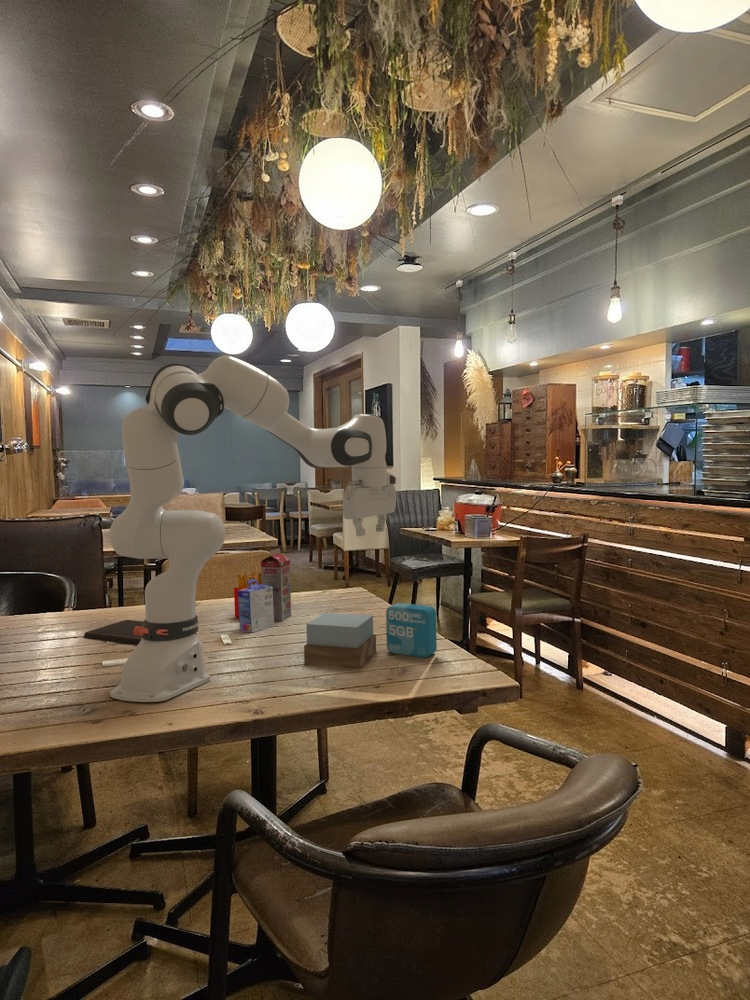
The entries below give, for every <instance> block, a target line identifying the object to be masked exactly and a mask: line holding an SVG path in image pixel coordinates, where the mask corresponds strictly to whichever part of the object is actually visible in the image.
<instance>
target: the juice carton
mask: <svg viewBox="0 0 750 1000" xmlns="http://www.w3.org/2000/svg"><path fill="white" fill-rule="evenodd" d="M290 559H291V558H289V557H288V556H286V555H285V554H283V553H281V548H280V547H279V548H274V549H271V550H269V556H268V557H266V558H264V559H262V560H261V561H260V573H261V583H262V585H268V586H272V589H273V612H274V622H284V621H285V620H287V619H289V618H290V617H292V596H291V594H292V592H291V591H292V590H291V589H292V587H291V560H290Z"/></svg>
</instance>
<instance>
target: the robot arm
mask: <svg viewBox="0 0 750 1000" xmlns="http://www.w3.org/2000/svg"><path fill="white" fill-rule="evenodd" d="M145 401H146V403H147V405H146V406H145V407H139V408H135V409H133V410H132V411H130V412H128V413H127V414H126V415H125V417H124V418H123V419H122V424H121V433H122V434H121V435H122V437H121V438H122V439H121V441H122V449H123V450H122V451H123V455H124V456H123V457H124V462H125V465H126V470H127V475H128V481H129V487H130V489H129V490H130V497H129V502H128V504H127V506H126V508H125V509H124V510H123V511H122V512H121V513H120V514H119V515H117V516H116V518H114V520H113V521H112V523H111V525H110V527H109V533H108V534H109V536H108V537H109V542H110V545H111V548H112V549H113V550H114V552H115V553H116V554H117V555H119V556H122V557H125V558H133V559H137V560H146V559H147V560H149V559H150V560H151V559H167V560H169V566H168V569H167V570H165V571H163V572H162V573H160V574H157V575H156V576H154V577H153V578H152V579H150V581H148V583H147V584H146V586H145V588H144V589H145V590H144V606H145V608H144V609H145V619H144V620H143V622H144V624H143V627H139V626H136V627H135V629H134V631H133V632H135V633H134V634H135V635H141V638H142V639H141V641H140V642H139V644H138V645H136V647H135V648H134V650H132V651H133V652H131V654H130V656H128V658H127V660H126V661H125V662H124V664H123V665H122V668H121V682H120V683H119V684H118V685H117V686H115V687H114V688H113V689H111V690H110V691H109V696H110V697H111V698H112V699H114V700H115V699H116V700H119V701H127V702H137V703H155V702H157V703H158V702H164V701H167V700H169V699H171V698H174V697H177V696H179V695H181V694H183V693H185V692H188V691H190V690H192V689H195V688H196V687H199V686H201V685H203V684H205V683H209V682H210V681H211V676H210V674H208V673H207V671H206V669H207V668H206V662H205V661H206V660H205V655H204V654H205V653H204V646H203V644H202V642H201V640H200V638H199V636H198V631H199V616H198V615H197V612H196V600H197V599H196V593H197V583H198V579H199V576H200V574H201V571H202V570H203V568H204V566H205V565H206V564H207V562H208V561H209V560H210V559H211V558H213V556H215V555H216V554H217V553H218V552H219V551H220V550H221V549H222V547H223V545H224V542H225V539H226V527H225V525H224V522H223V521H222V519H221V517H220V516H219V515H218V514H217V513H215V512H210V511H206V510H205V511H204V510H199V509H189V510H188V509H187V510H186V509H182V510H181V509H179V510H174V509H173V510H171V509H170V510H169V509H164V507H163V506H165V505H167V504H169V503H170V502H173V500H175V499H176V498H177V497H178V496H180V494H181V493H182V492H183V490H184V484H185V480H184V474H183V468H182V463H181V457H180V453H179V448H178V444H177V442H178V441H177V440H178V438H177V436H178V433H179V434H181V435H186V436H193V435H194V436H195V435H198V434H200V433H202V432H204V431H206V430H207V429H208V428H209V427H210V426H211V425H212V424H213V422H214V421H215V420H216V419H218V417H219V416H221V414H223V412H224V409H225V410H228V411H230V412H232V413H234V415H235V414H236V415H237V416H239V417H240V418H243V419H244V420H245V421H247V422H250V423H252V424H253V425H255V426H258V427H260V428H262V429H264V430H265V431H267V432H268V433H270V434H271V435H273V436H274V437H276V438H277V439H278V440H280V441H282V442H283V443H285V444H286V445H288V446H289V447H290V448H292V449H293V450H294V451H295V452H296V453H297V454H298V455H299V457H300V458H301V460H302V461H303V462H304V463H305V464H306V465H308V466H309V467H311V468H314V469H325V468H349V467H351V480H350V481H348V484H347V485H346V487H345V490H344V492H343V500H342V515H343V518H344V519H345V520H352V524H353V526H354V529H355V535H356V536H357V537H363V536H366V528H364V526H363V523H364V519H365V518H369V517H377V524H376V525H375V531H376V532H377V533H381V532H385V525H386V522H387V519H388V514H392V513H395V510H396V507H397V490H396V487H395V486H396V484H397V477H396V475H394V474H392V473H390V472H389V471H388V470H387V469H388V468H387V466H388V465H387V462H386V453H387V435H386V426H385V423H384V421H383V419H382V418H381V417H380V416H377V415H376V414H371V413H357V414H354V415H353V417H352V418H351V419H349V420H348V421H347V422H345V423H343V424H341V425H339V426H337V427H330V428H312V427H309V426H307V425H306V424H304V423H303V422H301V421H300V420H298V419H296V418H295V417H294V416H293V415H291V414H289V412H288V411H289V408H290V396H289V392H288V389H287V388H285V387H284V386H283V384H281V383H280V381H278V380H277V379H276V378H274V377H273V376H271V375H270V374H268V373H266V372H265V371H263V370H262V369H260V368H258V367H256V366H254V365H253V364H251V363H248V362H247V361H245V360H241V359H239V358H237V357H234V356H231V355H221V356H219V357H217V358H215V359H214V360H212V361H211V363H209V365H208V367H207V369H205V370H204V371H202V372H201V373H197V371H196V370H195V369H194V368H192V367H190V366H189V365H186V364H184V363H179V362H171V363H166V364H164V365H162V366H161V367H159V368H158V369H157V370H156V372H155V374H154V375H153V377H152V380H151V383H150V386H149V388H148V390H147V394H146V396H145Z"/></svg>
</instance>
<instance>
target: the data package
mask: <svg viewBox="0 0 750 1000" xmlns="http://www.w3.org/2000/svg"><path fill="white" fill-rule="evenodd" d="M385 617H386V618H385V621H386V623H385V626H386V628H385V629H386V631H385V633H386V649H387V651H388V652H389V653H391V654H395V655H402V656H410V657H418V658H423V659H424V658H425V659H426V658H427V657H430V656H431V655H433V654H434V653H435V652H436V651H437V640H438V639H437V637H438V636H437V611H436V609H435V608H434V607H433V606H431V605H421V604H411V603H403V602H402V603H401V602H397V603H395V604H392V605H390V606H389V607H387V608H386V611H385Z"/></svg>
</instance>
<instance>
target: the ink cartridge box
mask: <svg viewBox="0 0 750 1000" xmlns="http://www.w3.org/2000/svg"><path fill="white" fill-rule="evenodd" d="M247 582H248V587H249V588H246V589H242V590H238V605H239V619H238V620H239V631H240V632H243V633H248V634H251V633H256V632H259V631H262V630H264V629H268V628H271V627H274V626H275V621H274V612H273V589H272V586H268V585H258V582H257V578H256V579H252V580H249V579H247ZM251 582H256V584H252V585H251V584H250V583H251Z"/></svg>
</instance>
